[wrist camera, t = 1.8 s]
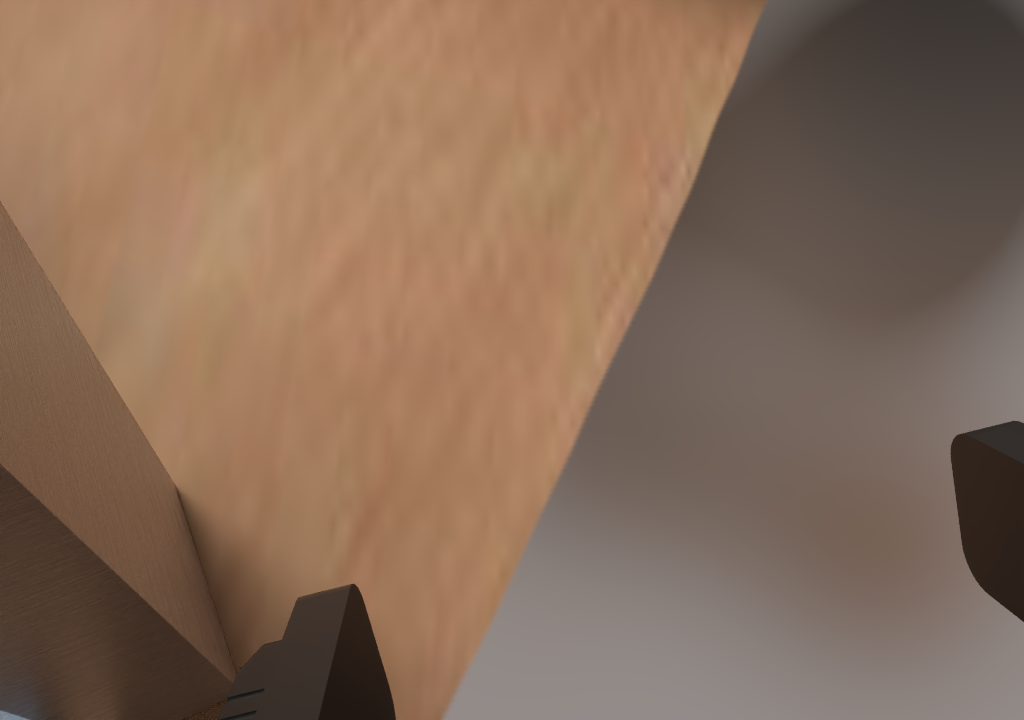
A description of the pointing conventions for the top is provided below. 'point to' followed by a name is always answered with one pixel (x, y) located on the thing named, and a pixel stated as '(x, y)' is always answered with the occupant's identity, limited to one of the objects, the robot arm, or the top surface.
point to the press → (89, 534)
